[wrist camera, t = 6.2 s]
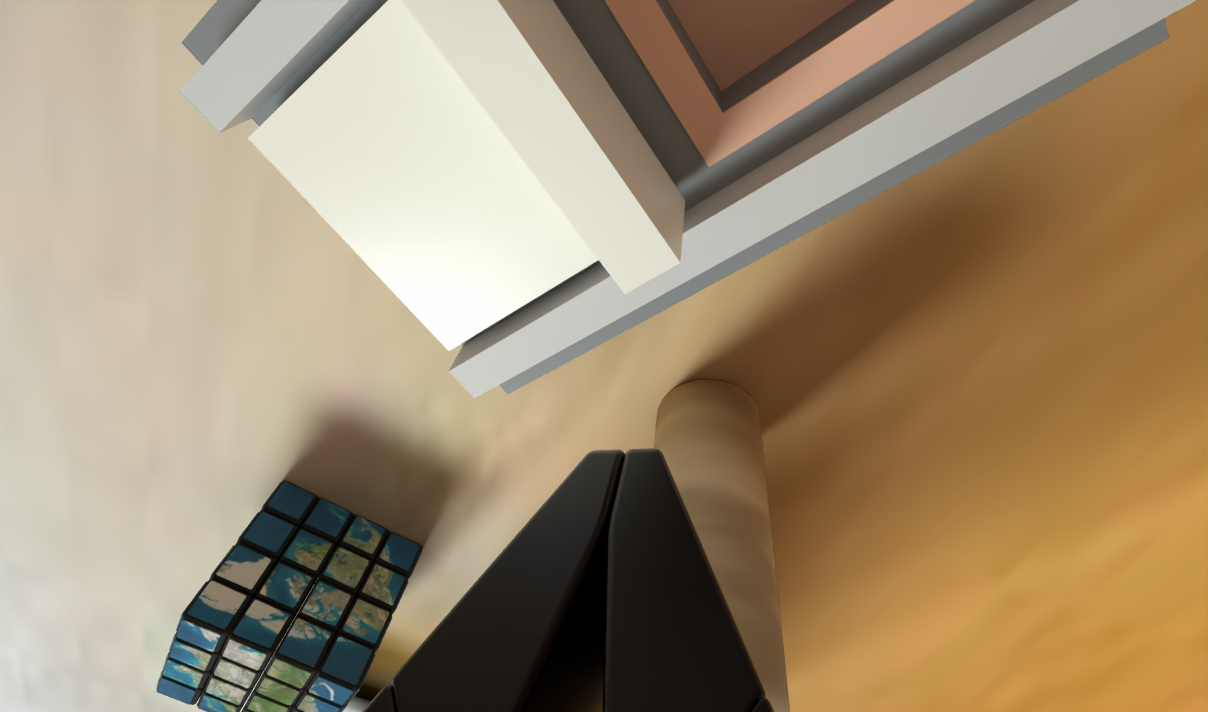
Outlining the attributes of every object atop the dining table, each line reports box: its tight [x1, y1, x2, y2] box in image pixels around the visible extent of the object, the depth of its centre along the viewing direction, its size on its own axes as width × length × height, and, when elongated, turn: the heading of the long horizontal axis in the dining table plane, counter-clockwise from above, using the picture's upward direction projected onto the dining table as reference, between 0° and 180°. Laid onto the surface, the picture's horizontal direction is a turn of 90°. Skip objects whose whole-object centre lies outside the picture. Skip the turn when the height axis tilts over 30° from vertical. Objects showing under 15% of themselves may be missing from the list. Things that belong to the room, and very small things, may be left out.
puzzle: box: [157, 481, 422, 712], centre depth 25 cm, size 6×6×6 cm
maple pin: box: [654, 379, 790, 712], centre depth 17 cm, size 3×3×9 cm
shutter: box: [248, 0, 685, 351], centre depth 13 cm, size 6×7×3 cm
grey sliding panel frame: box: [180, 0, 1196, 398], centre depth 13 cm, size 11×16×3 cm
